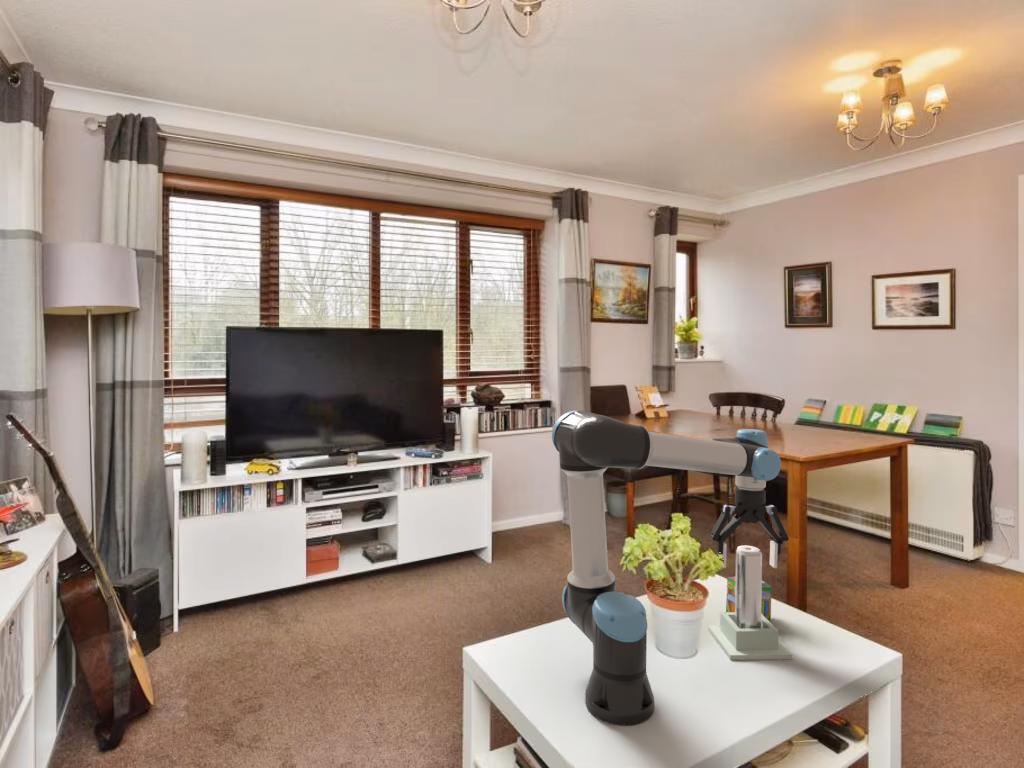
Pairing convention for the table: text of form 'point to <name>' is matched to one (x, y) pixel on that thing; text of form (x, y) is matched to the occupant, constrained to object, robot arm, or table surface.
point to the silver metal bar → (748, 587)
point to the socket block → (748, 640)
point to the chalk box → (764, 598)
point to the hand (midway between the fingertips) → (747, 566)
